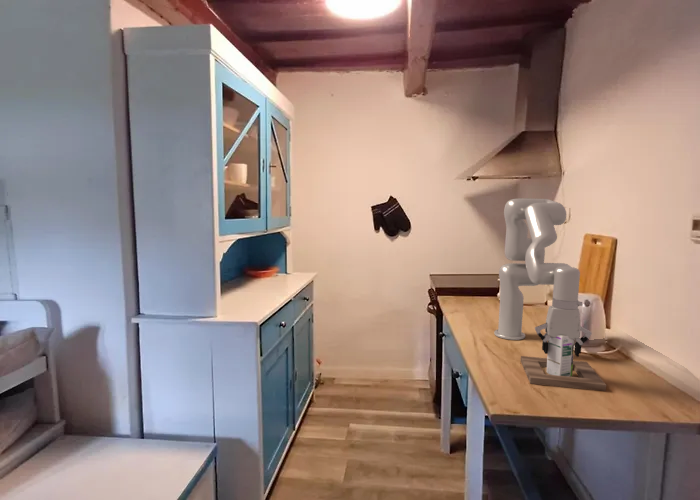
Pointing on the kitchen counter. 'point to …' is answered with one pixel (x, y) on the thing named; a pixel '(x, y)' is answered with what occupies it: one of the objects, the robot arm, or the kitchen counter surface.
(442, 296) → the kitchen counter surface
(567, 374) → the syrup box
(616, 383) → the kitchen counter surface
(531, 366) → the hole board
